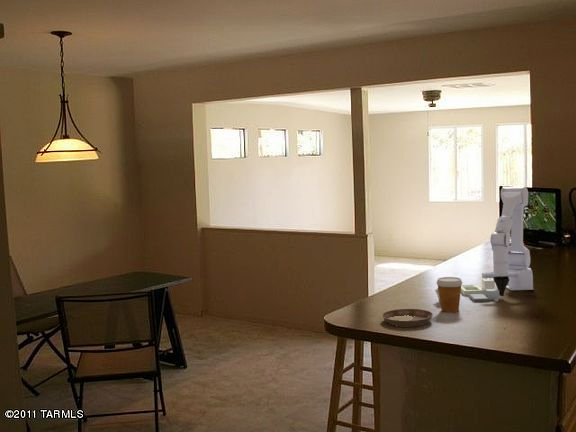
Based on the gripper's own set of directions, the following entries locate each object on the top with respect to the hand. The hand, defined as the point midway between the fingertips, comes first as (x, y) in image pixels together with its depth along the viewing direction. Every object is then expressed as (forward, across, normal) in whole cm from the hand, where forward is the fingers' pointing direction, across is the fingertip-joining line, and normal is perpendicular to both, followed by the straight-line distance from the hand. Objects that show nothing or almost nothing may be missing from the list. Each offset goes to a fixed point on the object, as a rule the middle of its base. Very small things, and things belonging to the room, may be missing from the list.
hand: (501, 295), depth 242 cm
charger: (+1, -3, +9) cm, 9 cm away
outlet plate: (+1, -9, +13) cm, 16 cm away
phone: (+1, -9, 0) cm, 9 cm away
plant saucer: (+2, -42, -31) cm, 52 cm away
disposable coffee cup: (+1, -24, -17) cm, 30 cm away
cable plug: (+1, -3, -2) cm, 4 cm away
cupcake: (+1, -22, -3) cm, 22 cm away
